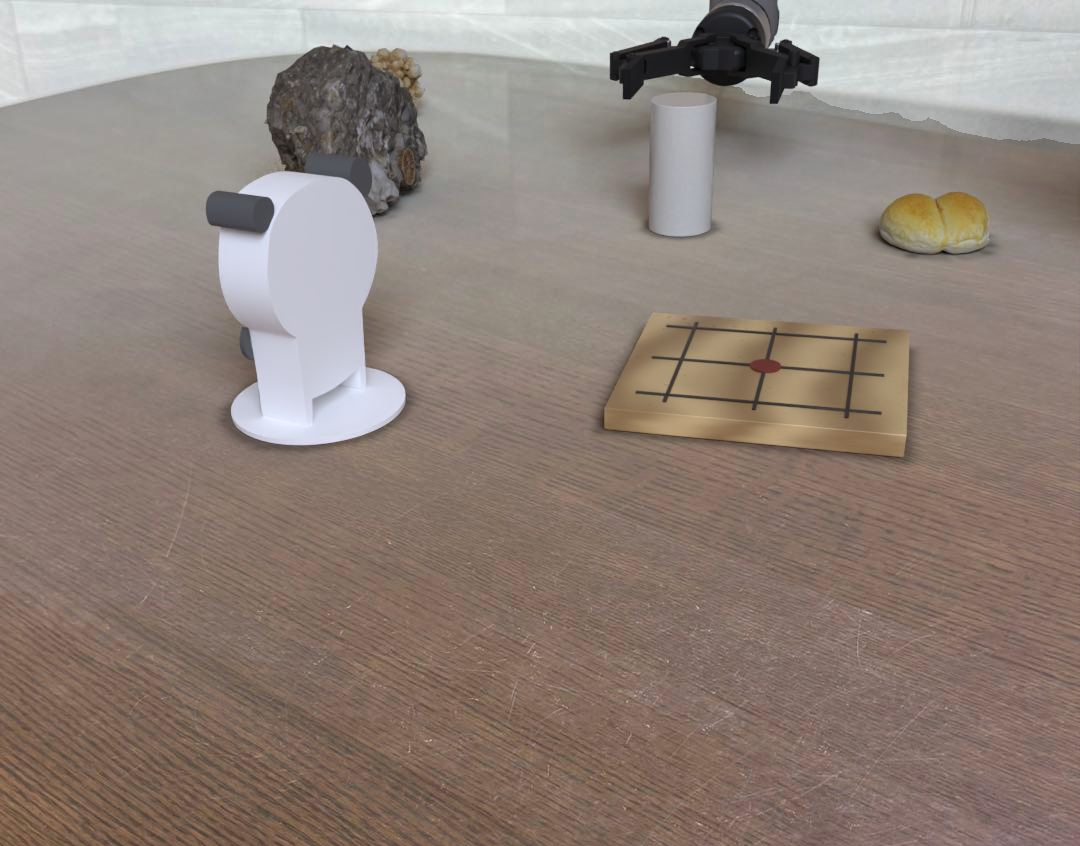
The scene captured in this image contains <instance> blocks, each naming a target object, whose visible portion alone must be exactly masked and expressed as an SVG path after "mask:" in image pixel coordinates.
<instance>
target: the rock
mask: <svg viewBox="0 0 1080 846" xmlns="http://www.w3.org/2000/svg"><path fill="white" fill-rule="evenodd" d="M369 60H370V59H369V58H368V56H367V55H366V53H365V51H362V50H356V49H354V48H352V47H351V46H350V45H349V44H346V45H345V46H344V47H341V46H339V45H338V44H334V43H333V44H332V46H326V45H319V46H316V47H313V48H312V49H311V50H309V51H307V52H306V53H304V54H303V55H301V56H300V57H298V58H297V59H296V60H295V61H294V62H293V63H292V64H291V65H290V66H289V67H287V68H286V69H284V70H282V71H280V72H278V73H276V76H275V79H274V80H275V81H274V84H273V86H272V87H271V94H269V101H268V103H267V104H266V119H265V120H264V122H263V124H266V125H267V126H268V131H269V133H270V134H271V141H272V143H273V144H274V146H275V147H276V150H277V152H278V155H279V158H280V163H281V165H282V166H285V168H284V171H291V172H299V173H305V164H306V161H307V159H308V157H309V155H310V154H311V153H313V152H317V153H325V154H334V155H343V156H352V157H360V158H363V159H365V160H366V161H367V162H368V164H369V166H370V169H371V173H372V187H371V191H370V193H369V194H368V196H366V197H364V199H365V201H366V203H367V205H368V207H369V209H370V212H371V215H372V216H375V215H376V214H383V213H384V212H385V211H386V210H388V209H390V206H392V205H393V204H394V203H396V202H397V201H399V198H400V192H401V191H410V190H413V189H414V188H415V187H416V186H417V184H418V183H421V182H422V177H421V173H420V172H421V171H422V170H423V168H422V165H421V162H425V161H426V160H425V159H426V158H425V156H427V155H428V154H429V152H428V146H427V143H426V137H425V134H424V132H423V130H421V128H419V122H418V109H417V110H416V107H415V105H414V103H413V100H412V96H411V94H410V92H409V91H408V89H407V87H400V81H399V78H398V77H395V76H394V75H393V73H391V72H388V71H386V70H377V69H376V67H375V66H373V65H372V64H371V63H370V62H369Z"/></svg>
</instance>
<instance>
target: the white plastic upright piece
mask: <svg viewBox="0 0 1080 846" xmlns="http://www.w3.org/2000/svg"><path fill="white" fill-rule="evenodd" d="M371 187H372V173H371V169H370V166H369V164H368V162H367V161H366V160H365V159H363V158H360V157H352V156H343V155H334V154H325V153H317V152H313V153H311V154H310V155H309V157H308V159H307V161H306V164H305V173H299V172H291V171H285V170H284V171H275V172H270V173H267V174H265V175H262V176H260V177H259V178H257V179H255V180H253V181H251V182H250V183H248V184H247V185H245V186H244V187H242V188H241V190H239V191H238V192H233V191H226V190H215V191H213V192H211V193H209V195H208V196H207V197H206V202H205V203H206V204H205V215H206V220H207V223H208V224H209V225H210V226H213V227H219V228H220V229H219V230H220V231H219V236H218V237H219V238H218V275H219V283H220V288H221V292H222V295H223V298H224V300H225V304H226V305H227V308H228V309H229V311H230V313H231V314H232V316H233V317H234V318H235V319H236V320H237V321H238V322H239V323H240V324H241V325H242V327H241V329H240V332H239V333H240V334H239V339H238V340H239V344H238V345H239V349H240V352H241V354H242V355H243V356H244V357H245V358H246V359H247V360H250V361H254V365H255V371H256V377H257V381H256V382H254V383H252V384H250V385H249V386H247V387H246V388H244V389H243V390H242V391H241V392H240V393H239V394H238V395H237V396H236V397H235V398H234V400H233V402H232V404H231V406H230V414H231V420H232V422H233V424H234V426H235V427H236V428H237V429H238V430H239V431H240V432H242V434H245V435H246V436H249V437H251V438H252V439H254V440H255V439H256V440H258V441H262V442H265V443H270V444H277V445H283V446H284V445H286V446H314V445H323V444H324V445H325V444H332V443H338V442H343V441H347V440H351V439H354V438H358V437H361V436H364V435H367V434H370V433H372V432H374V431H376V430H378V429H380V428H382V427H385V426H386V425H388V424H389V423H391V422H392V421H394V419H396V418H397V417H398V416H399V415H400V413H402V411H403V410H404V408H405V405H406V403H407V396H406V389H405V387H404V385H403V384H402V382H401V381H400V380H399V379H397V378H396V377H395V376H393V375H391V374H390V373H388V372H385V371H383V370H379V369H376V368H373V367H368V366H366V355H365V353H366V352H365V338H364V320H363V307H364V304H365V303H366V300H367V299H368V296H369V294H370V291H371V288H372V285H373V282H374V278H375V275H376V269H377V263H378V257H379V242H378V234H377V228H376V224H375V221H374V217H373V214H371V212H370V209H369V207H368V205H367V203H366V201H365V199H364V197H366V196H368V194H369V193H370V191H371Z"/></svg>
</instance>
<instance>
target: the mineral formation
mask: <svg viewBox="0 0 1080 846" xmlns="http://www.w3.org/2000/svg"><path fill="white" fill-rule="evenodd" d="M369 62H370V63H371V64H372V65H373V66H375V67H376V69H377V70H386V71H388V72H391V73H393V75H394V76H395V77H398V78H399V81H400V87H407V89H408V91H409V92H410V94H411V96H412V100H413V103H414V105H415V107H416V110H417V111H418V107H419V103H420V101H419V100H420V99H421V98H422V97H423V96H424V93H425V92H426V88H425V85H422V84H421V83H420V82H419V78H422V77H423V73H424V72H423V71H422V69H421V66H420V65H419V61H418V59H417V58H416V57H410V56H408V54H407V51H406V50H405V49H404V48H399V47H395V49H392V51H391V52H390V50H389V49H387V48H385V47H384V48H383V47H382V48H378V50H377V51H376V54H373V53H371V57H370V59H369Z"/></svg>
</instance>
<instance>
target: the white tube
mask: <svg viewBox="0 0 1080 846" xmlns="http://www.w3.org/2000/svg"><path fill="white" fill-rule="evenodd" d="M717 105H718V99H717V97H715V96H714V95H711V94H708V93H704V92H703V93H702V92H691V91H679V92H677V91H676V92H667V93H661V94H658V95H655V96H653V97H651V98H650V106H649V107H650V113H649V114H650V115H649V119H650V120H649V161H648V163H649V167H648V168H649V169H648V174H649V175H648V222H647V223H648V224H647V225H648V226H647V227H648V229H649V230H650V231H651V232H652V233H654V234H657V235H660V236H666V237H673V238H675V237H676V238H684V237H685V238H686V237H694V236H699V235H703V234H705V233H707V232H709V231H710V230H711V229H712V219H713V218H712V216H713V197H714V196H713V195H714V193H713V192H714V174H715V151H716V130H717V129H716V128H717V108H718V106H717Z"/></svg>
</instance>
